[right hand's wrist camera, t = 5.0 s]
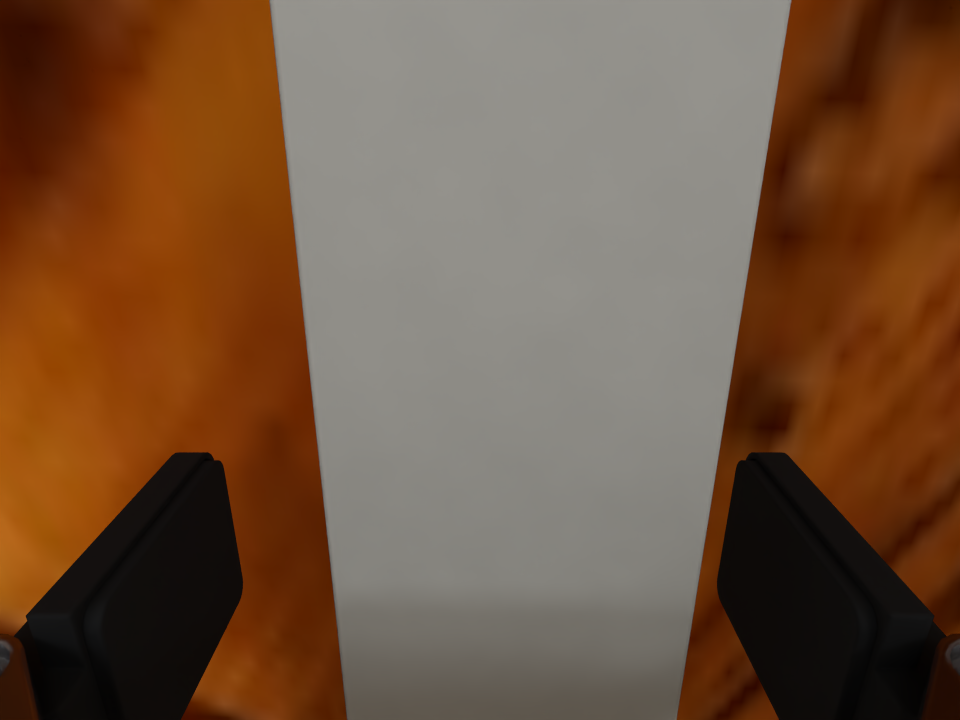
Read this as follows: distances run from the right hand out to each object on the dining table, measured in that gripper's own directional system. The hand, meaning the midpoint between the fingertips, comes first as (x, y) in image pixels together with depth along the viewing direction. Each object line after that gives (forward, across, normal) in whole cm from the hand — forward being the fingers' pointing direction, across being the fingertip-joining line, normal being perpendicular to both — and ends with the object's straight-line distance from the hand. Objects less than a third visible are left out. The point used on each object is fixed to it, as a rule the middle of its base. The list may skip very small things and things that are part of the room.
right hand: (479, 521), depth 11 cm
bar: (+4, +1, +22) cm, 22 cm away
